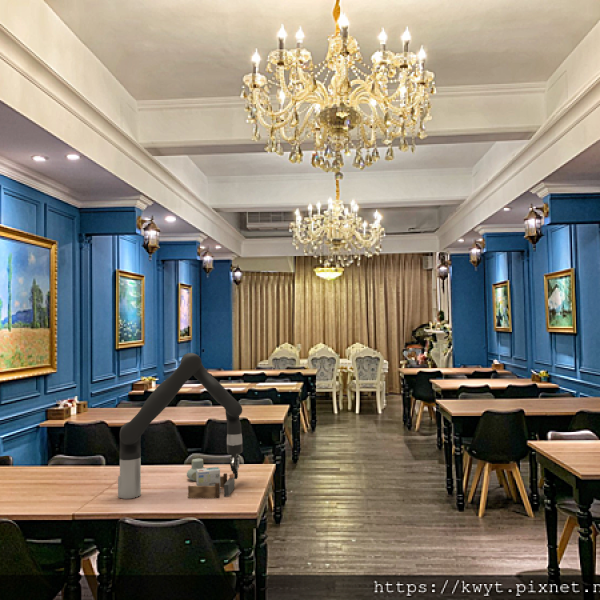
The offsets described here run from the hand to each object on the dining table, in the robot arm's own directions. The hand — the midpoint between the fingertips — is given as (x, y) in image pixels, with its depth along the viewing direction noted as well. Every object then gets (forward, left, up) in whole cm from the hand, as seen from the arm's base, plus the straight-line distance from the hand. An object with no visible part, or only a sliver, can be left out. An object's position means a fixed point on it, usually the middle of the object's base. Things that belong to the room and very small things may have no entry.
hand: (235, 478), depth 265 cm
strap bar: (0, -13, -3) cm, 13 cm away
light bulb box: (-10, -13, -3) cm, 17 cm away
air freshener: (-21, +9, -3) cm, 23 cm away
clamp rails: (-10, -13, -3) cm, 17 cm away
